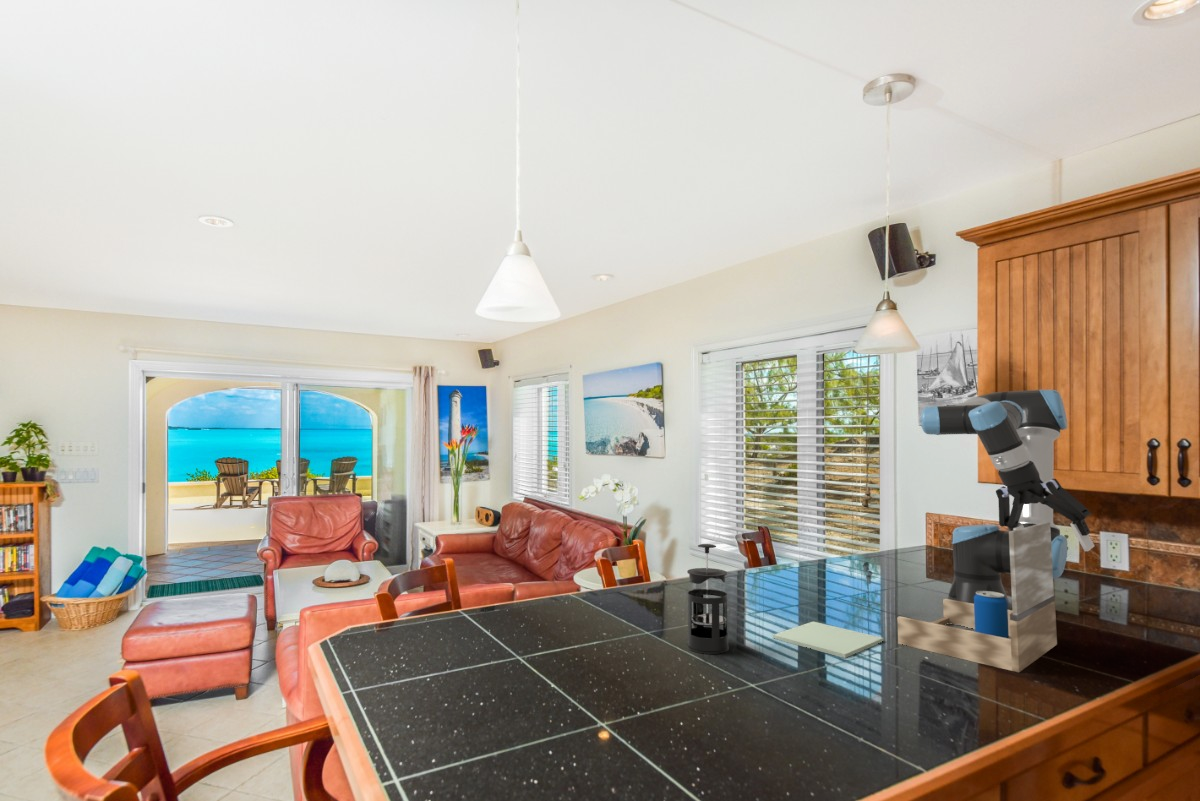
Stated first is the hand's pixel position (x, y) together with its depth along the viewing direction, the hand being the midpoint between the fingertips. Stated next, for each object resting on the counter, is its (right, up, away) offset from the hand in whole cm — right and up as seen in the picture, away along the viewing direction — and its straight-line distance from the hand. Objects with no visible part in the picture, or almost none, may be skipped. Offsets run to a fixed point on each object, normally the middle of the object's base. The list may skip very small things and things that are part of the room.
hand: (1059, 550), depth 142 cm
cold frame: (-18, -22, +1) cm, 29 cm away
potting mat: (-52, -22, +3) cm, 57 cm away
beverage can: (-16, -22, -2) cm, 27 cm away
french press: (-82, -22, -2) cm, 85 cm away
